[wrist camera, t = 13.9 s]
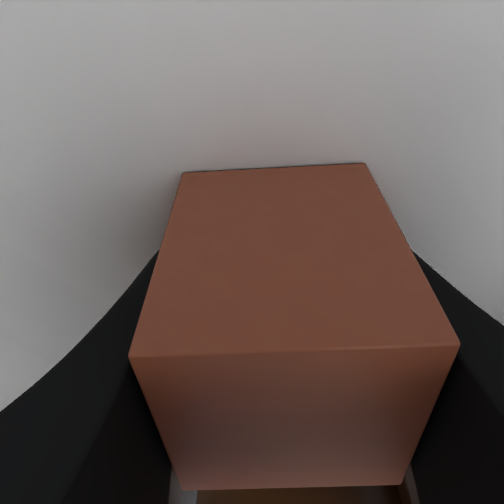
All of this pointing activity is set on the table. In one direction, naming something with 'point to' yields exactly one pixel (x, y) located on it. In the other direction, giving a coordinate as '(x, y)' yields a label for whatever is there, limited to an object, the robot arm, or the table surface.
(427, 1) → the table surface
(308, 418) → the block
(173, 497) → the drawer
